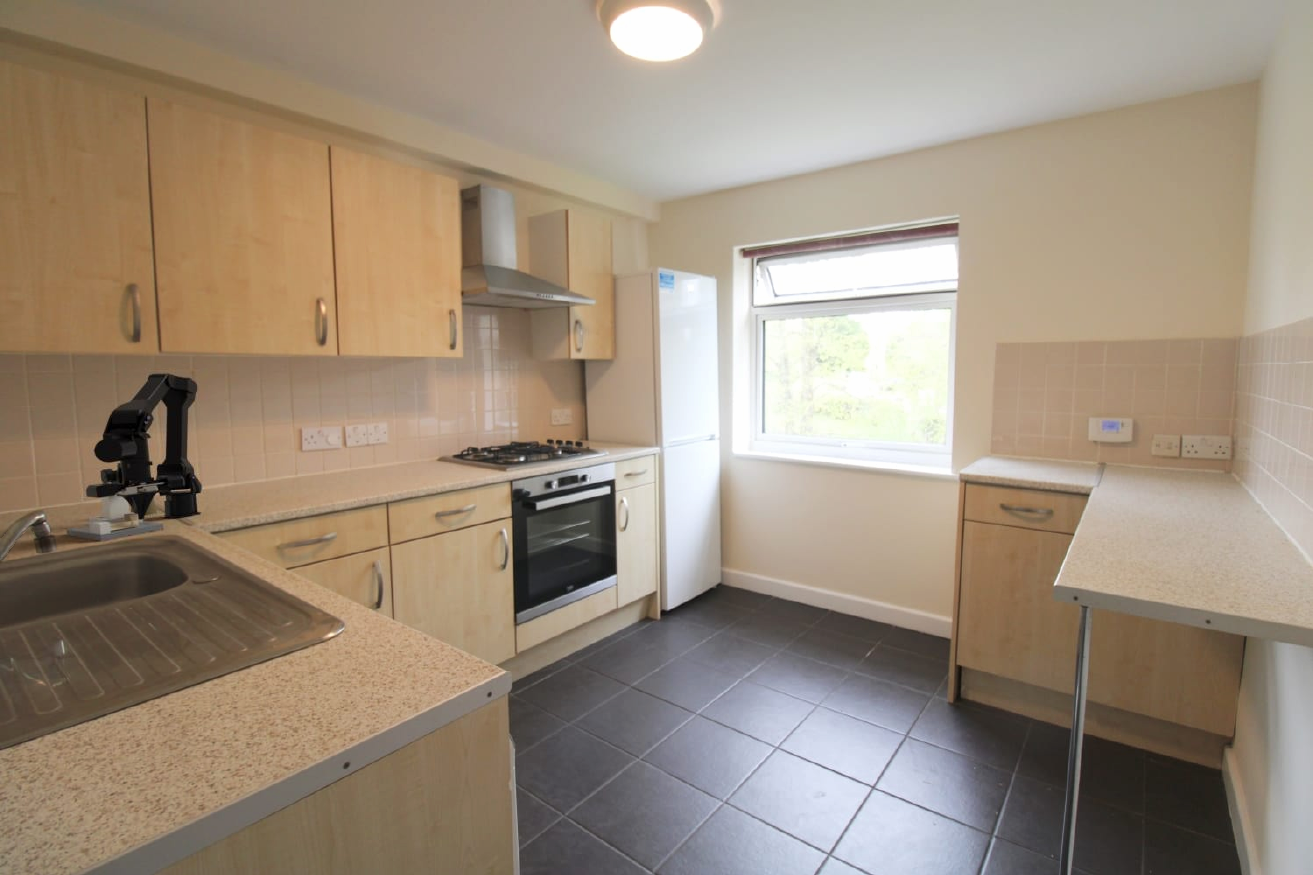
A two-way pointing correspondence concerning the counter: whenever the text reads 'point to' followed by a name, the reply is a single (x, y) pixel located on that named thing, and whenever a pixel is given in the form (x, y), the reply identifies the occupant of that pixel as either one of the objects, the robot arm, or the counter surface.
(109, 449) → the robot arm
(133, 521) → the latch bolt
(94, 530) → the plate
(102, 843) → the counter surface
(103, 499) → the white upright block
